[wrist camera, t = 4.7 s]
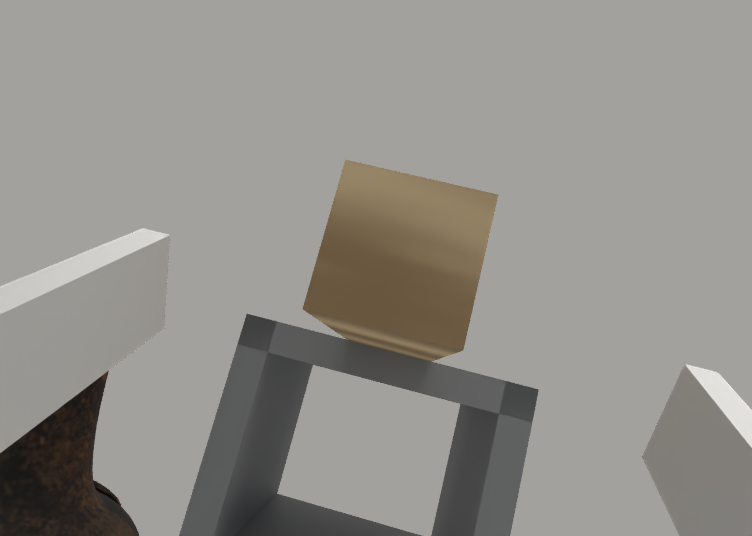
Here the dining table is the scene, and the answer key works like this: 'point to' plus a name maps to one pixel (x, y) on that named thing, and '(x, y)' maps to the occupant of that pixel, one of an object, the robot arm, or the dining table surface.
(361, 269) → the wooden bar
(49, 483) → the glass bottle
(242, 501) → the shelf
